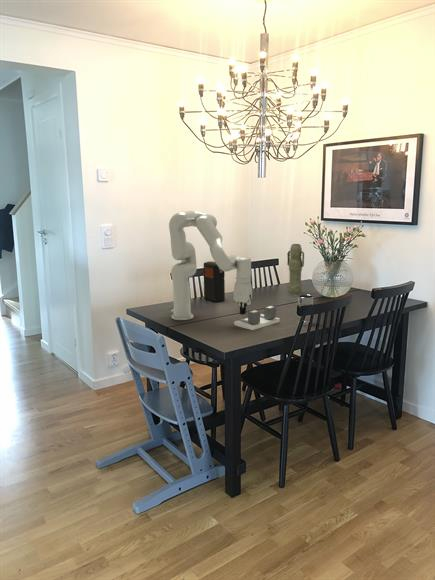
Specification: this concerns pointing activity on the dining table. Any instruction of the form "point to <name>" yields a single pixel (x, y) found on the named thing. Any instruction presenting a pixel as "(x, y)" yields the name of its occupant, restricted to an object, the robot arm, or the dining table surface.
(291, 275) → the olive green tall statue
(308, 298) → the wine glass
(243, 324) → the white rectangular tray
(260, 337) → the dining table surface
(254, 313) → the grey rounded block
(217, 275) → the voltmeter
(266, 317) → the handle
